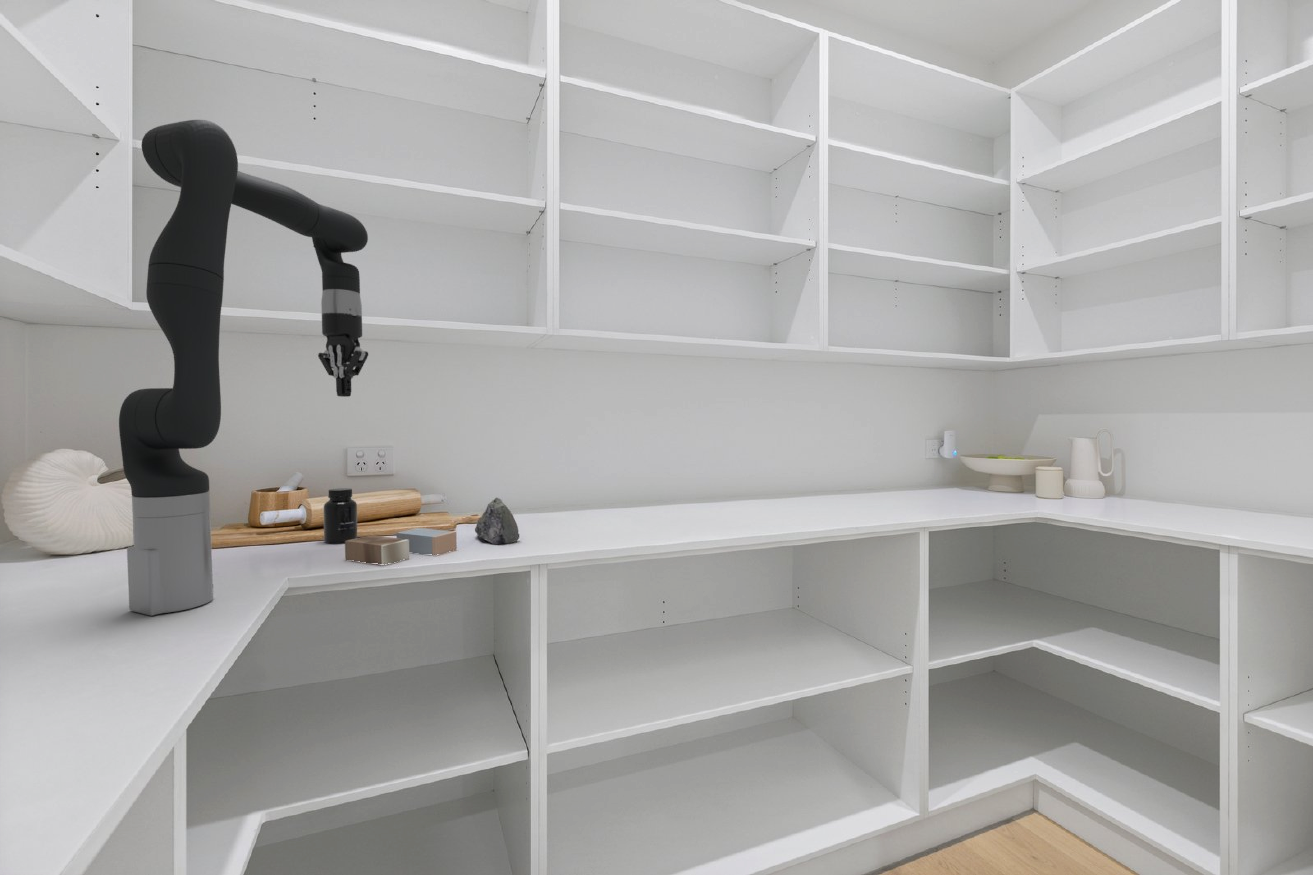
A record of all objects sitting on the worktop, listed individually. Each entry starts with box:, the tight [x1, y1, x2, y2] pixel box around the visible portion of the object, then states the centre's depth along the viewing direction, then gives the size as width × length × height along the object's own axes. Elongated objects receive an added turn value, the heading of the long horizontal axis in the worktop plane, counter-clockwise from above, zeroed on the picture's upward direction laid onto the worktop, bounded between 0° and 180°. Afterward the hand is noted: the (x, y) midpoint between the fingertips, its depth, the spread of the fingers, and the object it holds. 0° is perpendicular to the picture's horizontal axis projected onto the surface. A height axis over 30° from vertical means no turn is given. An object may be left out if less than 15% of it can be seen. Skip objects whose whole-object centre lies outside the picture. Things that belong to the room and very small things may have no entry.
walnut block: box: [344, 535, 410, 565], centre depth 120 cm, size 6×4×11 cm
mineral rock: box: [474, 497, 520, 545], centre depth 138 cm, size 13×11×10 cm
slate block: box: [395, 527, 458, 555], centre depth 127 cm, size 6×4×11 cm
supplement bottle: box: [323, 487, 358, 544], centre depth 137 cm, size 7×7×12 cm
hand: (344, 396), depth 126 cm, fingers closed
